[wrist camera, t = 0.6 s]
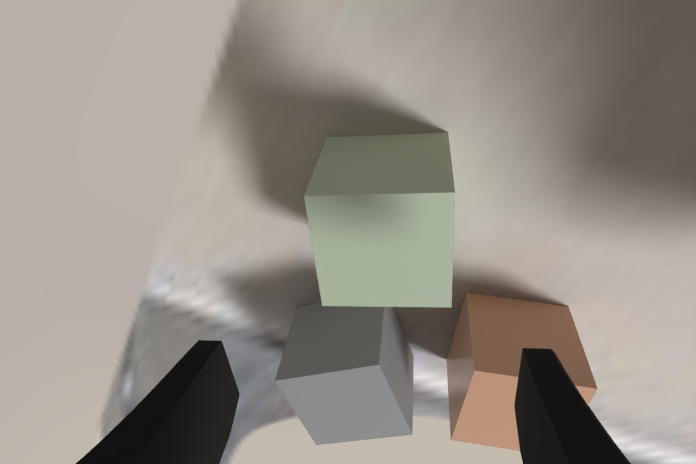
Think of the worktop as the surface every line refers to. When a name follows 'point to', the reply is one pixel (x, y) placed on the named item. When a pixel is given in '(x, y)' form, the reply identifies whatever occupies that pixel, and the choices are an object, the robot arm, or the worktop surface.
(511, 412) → the terracotta block
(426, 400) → the worktop surface
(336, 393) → the slate grey block
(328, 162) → the sage block
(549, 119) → the worktop surface
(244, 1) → the worktop surface
